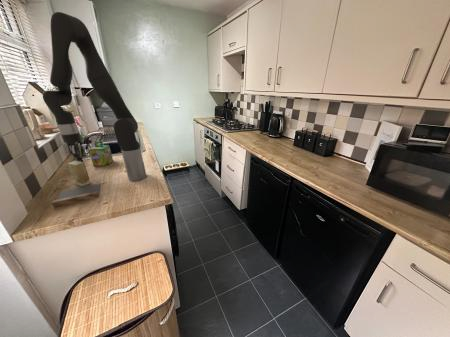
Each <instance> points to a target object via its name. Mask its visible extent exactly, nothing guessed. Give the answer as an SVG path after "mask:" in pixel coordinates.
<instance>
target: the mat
mask: <svg viewBox="0 0 450 337" xmlns="http://www.w3.org/2000/svg"><path fill="white" fill-rule="evenodd" d="M100 189H101V183H96V184H91V185H85V186H80V187H75V188H71V189H66V190H61V192H60V194H58V198H57V199H56V200H59V199H63V198H68V197H73V196H77V195H82V194H87V193H91V192H96V191H97V193H98V196H99V195H100Z"/></svg>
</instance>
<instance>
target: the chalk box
mask: <svg viewBox="0 0 450 337" xmlns="http://www.w3.org/2000/svg"><path fill="white" fill-rule="evenodd" d="M93 144H94V146H92V147H90V148H88V152H89V156H90V158H91V159H90V160H91V163H92V166H93V167H98V166H99V167H100V166H101V167H102V166H109V165H110V164H111V163H112V162H113V161H114V159H113V155H112V151H111V148H110V145H109V144H104V142H103V141H94V143H93Z"/></svg>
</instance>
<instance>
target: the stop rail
mask: <svg viewBox="0 0 450 337" xmlns="http://www.w3.org/2000/svg"><path fill="white" fill-rule="evenodd" d="M97 198H99V195H98V193H97V191H96V192H91V193H87V194H82V195H77V196H73V197H68V198H63V199H59V200H57V199H54V200H52V202H51V203H52V206H53V208H57V207H61V206H66V205H70V204H74V203H80V202H84V201H87V200H91V199H92V200H93V199H97Z"/></svg>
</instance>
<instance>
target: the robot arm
mask: <svg viewBox="0 0 450 337" xmlns="http://www.w3.org/2000/svg"><path fill="white" fill-rule="evenodd" d="M50 17H51V18H50V37H51V38H50V40H51V52H52V57H51V58H52V59H51V60H52V63H51V69H50V77H49V82H50V84H51V85H52V86H53V87H55V88H57V89H49V90H48V89H47V90H44V92H43V93H42V99H43V100H42V101H43V102H44V103H45V105H46V107H47V108H48V109H49V110H50V111H51V114H52V115H53V116H54V118H55V121H56V123H57V126H58V130H59V132H60V135H61V138H62V141H63V143H65V144H69V146H68V147H69V149H70V150H69V152H70V153H71V155H72V156H73V157H74V158H75V159H76V161H81V162H84V160H83V156H82V155H83V153H82V145H81V144H80V143H79V142H81V141H82V140H83V139H82V136H81V133H80V130H79V127H78V126H77V123H76V121H75V117H74V115H73V113H72V112H71V111H70V110H65V109H64V108H63V106H69V105H70V104H71V103H72V101H73V95H72V89H71V88H72V86H71V85H72V79H73V74H74V72H73V66H72V63H71V60H70V56H69V55H70V53H69V51H70V47H71V44H72V43H74V44H75V45H76V47H77V48H78V50H79V52H80V54H81V56H82V58H83V61H84V66H85V74H86V77H87V80H88V83H89V84H90V85H91V87H92V89H93V90H94V93H96V94H97V96H98V97H99V98H100V99H101V100H102V101H103V103H105V104H106V105H107V106H108V107H109V108H110V109H111V111H112V113H113V114H114V116H115V118H116V120H115V121H114V123H113V132H114V135H115V137H116V138H115V139H116V142H117V144H118V146H119V148H120V151H121V155H122V158H123V162H124V167H125V172H126V175H127V178H128V180H129V181H130V182H137V181H142V180H143V179H147V178H148V177H147V174H146V173H147V172H146V167H145V163H144V159H143V154H142V149H141V143H140V142H139V141H138V140H137V138H136V134H135V133H137V132H138V128H139V124H138V122H137V120H136V119H135V117H134V115H133V114H132V113H131V111H130V109H129V108H128V107H127V105H126V103H125V100H124V98H123V97H122V95H121V93H120V91H119V89H118V87H117V86H116V83H115V82H114V80H113V77H112V76H111V74H110V73H109V71H108V70H107V67H106V65H105V63H104V62H103V59H102V58H101V56H100V54H99V52H98V49H97V47H96V46H95V42H94V40H93V38H92V36H91V34H90V31H89V30H88V27H87V25H86V24H85V23H84V22H83V21H82V20H81V19H79V18H78V17H75V16H73V15H70V14H67V13H64V12H61V11H57V12H54V13H53V14H52V15H51V16H50Z"/></svg>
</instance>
